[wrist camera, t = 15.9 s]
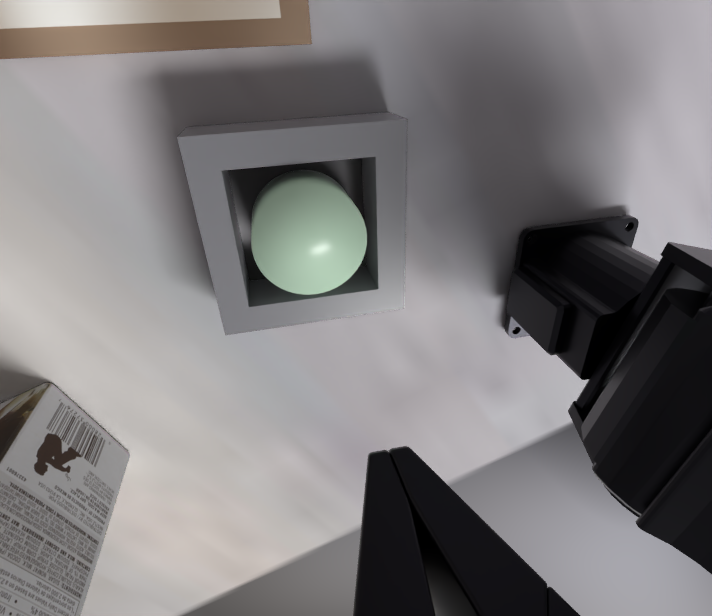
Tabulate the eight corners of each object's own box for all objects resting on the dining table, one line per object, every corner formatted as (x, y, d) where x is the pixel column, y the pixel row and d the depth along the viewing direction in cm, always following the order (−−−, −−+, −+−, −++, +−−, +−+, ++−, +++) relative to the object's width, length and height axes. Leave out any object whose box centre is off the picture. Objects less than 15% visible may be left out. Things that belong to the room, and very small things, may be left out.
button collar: (388, 112, 18) (407, 119, 15) (389, 284, 22) (404, 308, 19) (186, 127, 16) (176, 137, 14) (228, 306, 20) (225, 335, 18)
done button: (351, 164, 18) (364, 179, 15) (356, 262, 20) (368, 286, 18) (242, 175, 17) (241, 191, 15) (260, 274, 19) (261, 301, 17)
